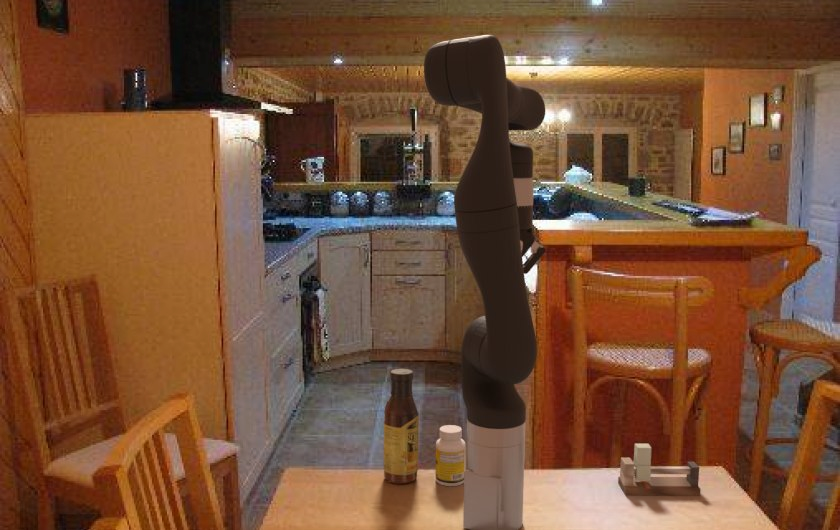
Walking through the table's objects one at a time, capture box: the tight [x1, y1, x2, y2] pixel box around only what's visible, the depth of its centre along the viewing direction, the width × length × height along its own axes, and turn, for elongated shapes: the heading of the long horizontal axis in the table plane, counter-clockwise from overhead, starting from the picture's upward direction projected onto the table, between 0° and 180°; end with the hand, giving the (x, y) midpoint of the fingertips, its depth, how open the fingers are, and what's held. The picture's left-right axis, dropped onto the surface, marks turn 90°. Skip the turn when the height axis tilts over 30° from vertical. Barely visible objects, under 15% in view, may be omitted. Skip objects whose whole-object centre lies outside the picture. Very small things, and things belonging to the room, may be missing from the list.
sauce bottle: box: [383, 368, 420, 485], centre depth 146 cm, size 6×6×20 cm
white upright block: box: [632, 443, 652, 480], centre depth 143 cm, size 2×3×6 cm
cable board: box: [617, 457, 701, 496], centre depth 144 cm, size 13×5×5 cm, turn 90°
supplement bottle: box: [435, 424, 466, 487], centre depth 146 cm, size 5×5×10 cm
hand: (509, 295), depth 152 cm, fingers closed
